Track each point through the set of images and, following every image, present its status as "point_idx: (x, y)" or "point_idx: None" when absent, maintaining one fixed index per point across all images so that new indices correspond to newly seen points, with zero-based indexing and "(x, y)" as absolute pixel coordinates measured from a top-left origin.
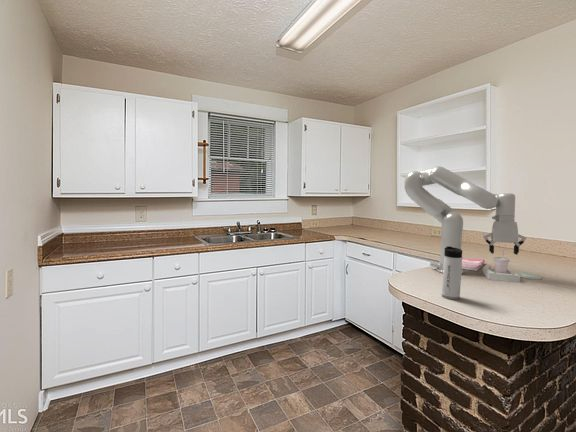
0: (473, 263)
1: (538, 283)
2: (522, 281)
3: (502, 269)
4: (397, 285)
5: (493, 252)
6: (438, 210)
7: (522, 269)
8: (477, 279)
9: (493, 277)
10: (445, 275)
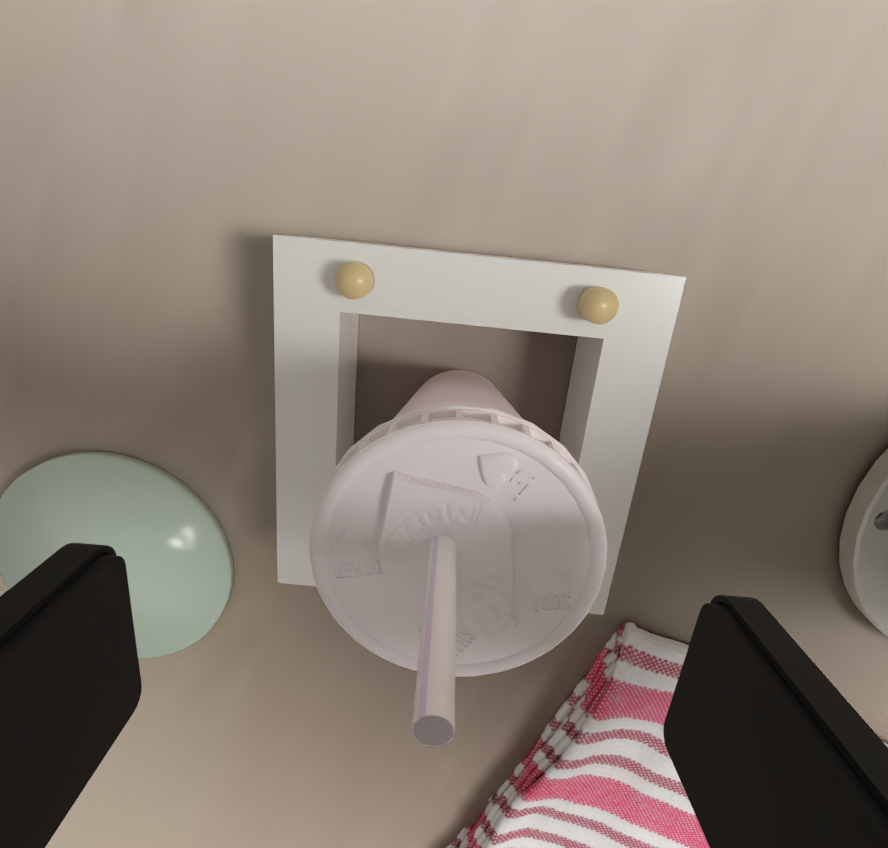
0: None
1: (83, 269)
2: (247, 308)
3: (464, 387)
4: None
5: (730, 615)
6: None
7: (113, 799)
8: (815, 222)
9: (607, 267)
10: None
